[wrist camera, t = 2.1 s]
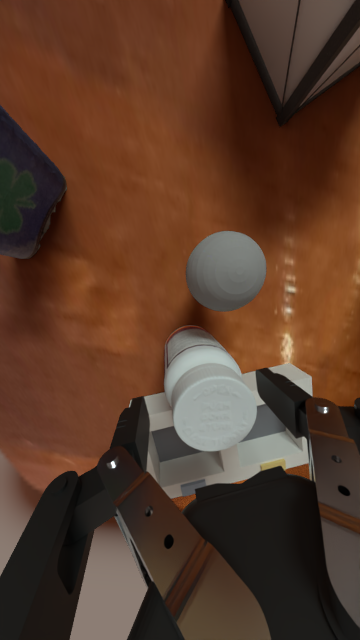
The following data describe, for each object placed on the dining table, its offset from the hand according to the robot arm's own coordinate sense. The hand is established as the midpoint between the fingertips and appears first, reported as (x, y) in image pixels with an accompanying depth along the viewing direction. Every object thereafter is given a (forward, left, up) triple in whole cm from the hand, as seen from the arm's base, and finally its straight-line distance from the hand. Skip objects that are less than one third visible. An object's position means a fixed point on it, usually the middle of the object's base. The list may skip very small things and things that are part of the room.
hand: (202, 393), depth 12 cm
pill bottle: (0, 0, -10) cm, 10 cm away
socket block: (-2, +11, -9) cm, 15 cm away
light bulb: (-3, -8, -10) cm, 13 cm away
